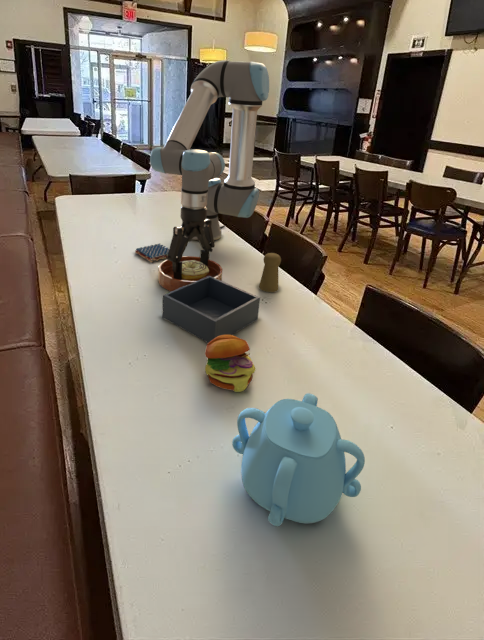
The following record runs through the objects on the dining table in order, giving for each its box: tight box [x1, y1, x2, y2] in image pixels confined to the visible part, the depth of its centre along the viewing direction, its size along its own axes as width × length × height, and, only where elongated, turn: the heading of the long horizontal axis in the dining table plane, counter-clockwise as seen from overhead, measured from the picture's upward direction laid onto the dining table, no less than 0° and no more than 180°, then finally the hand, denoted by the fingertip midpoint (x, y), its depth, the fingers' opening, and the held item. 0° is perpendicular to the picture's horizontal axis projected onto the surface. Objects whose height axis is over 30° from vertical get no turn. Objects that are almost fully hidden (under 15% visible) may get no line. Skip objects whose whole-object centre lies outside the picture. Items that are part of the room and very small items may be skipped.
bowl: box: [157, 255, 223, 292], centre depth 126 cm, size 19×19×4 cm
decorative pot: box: [231, 392, 366, 527], centre depth 61 cm, size 16×16×14 cm
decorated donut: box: [182, 260, 209, 281], centre depth 126 cm, size 10×11×4 cm
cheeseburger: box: [204, 334, 257, 393], centre depth 85 cm, size 10×11×10 cm
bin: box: [161, 276, 261, 344], centre depth 106 cm, size 18×18×6 cm
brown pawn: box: [258, 252, 282, 293], centre depth 125 cm, size 6×6×11 cm
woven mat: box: [134, 243, 169, 264], centre depth 144 cm, size 10×11×2 cm
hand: (190, 275), depth 126 cm, fingers closed on decorated donut, 11 cm apart
